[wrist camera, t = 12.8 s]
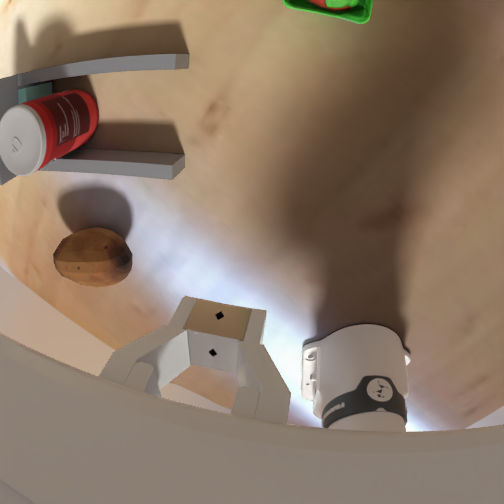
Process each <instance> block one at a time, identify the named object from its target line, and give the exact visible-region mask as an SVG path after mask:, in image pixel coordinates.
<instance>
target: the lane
mask: <svg viewBox="0 0 504 504" xmlns="http://www.w3.org/2000/svg"><path fill="white" fill-rule="evenodd" d="M188 67H189V54H154V55H137V56H125V57H114V58H105V59H97V60H89V61H82V62H76V63H70V64H64V65H59V66H53V67H48V68H44V69H39V70H35V71H30V72H26V73H22V74H18V75H14V76H10V77H6V78H2V79H0V121H1V118H2V117H3V115H4V114H5V113H6V112H7V110H9V109H10V108H12V107H14V106H16V105H19V101H18V90H19V89H23V88H26V87H30V86H34V85H38V82H42V81H47V80H53V79H59V78H66V77H73V76H81V75H89V74H98V73H108V72H121V71H137V70H172V69H186V68H188ZM184 168H185V155H183V154H171V153H157V152H141V151H122V150H92V149H75V150H73V151H71V152H69V153H67V154H65V155H64V156H62V157H60V158H58V159H57V160H55V161H53V162H51V163H50V164H48V165H46V166H45V167H43V168H41V169H39V170H42V171H65V172H83V173H99V174H112V175H125V176H137V177H148V178H159V179H169V180H173V179H174V178H175V177H176V176H177V175H178V174H179V173H180V172H181V171H182V170H183V169H184ZM16 176H17V175H16V174H14V173H12V172H11V171H10V170H9V169H8V168H7V167H6V166H5V164H4V162H3V161H2V158H1V156H0V185H3V184H4V183H6V182H8V181H9V180H11V179H12V178H14V177H16Z"/></svg>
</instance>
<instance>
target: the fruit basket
mask: <svg viewBox="0 0 504 504" xmlns="http://www.w3.org/2000/svg"><path fill="white" fill-rule="evenodd" d="M282 1H283V4H284V5H285V6H286V7H288V8H290V9H295V10H302V11H308V12H313V13H318V14H323V15H327V16H332V17H336V18H340V19H343V20H347V21H351V22H354V23H358V24H365V23H367V22H368V21H369V20H370V16H371V10H372V4H373V0H282Z"/></svg>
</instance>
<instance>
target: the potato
mask: <svg viewBox="0 0 504 504" xmlns="http://www.w3.org/2000/svg"><path fill="white" fill-rule="evenodd" d="M53 256H54V264H55V267H56V269H57V270H58V272H59V273H60V274H61V275H62V276H64V277H66V278H68V279H70V280H73V281H75V282H77V283H79V284H81V285H86V286H92V287H102V286H111V285H115V284H117V283H118V282H120V281H122V280H123V279H125V278H126V277H127V276H128V274H129V272H130V271H131V268H132V253H131V251H130V249H129V247H128V246H127V244H126V242H125V241H124V239H122V238H121V237H120V236H119V235H118V234H116V233H115V232H113V231H112V230H109V229H105V228H101V227H98V228H90V229H83V230H80V231H78V232H76V233H73V234H71V235H70V236H68V237H66V238H64V239H63V240H62V241H61V243H60V244H59V246H58V247H57V249H56V251H55V252H54V254H53Z"/></svg>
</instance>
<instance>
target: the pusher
mask: <svg viewBox="0 0 504 504" xmlns="http://www.w3.org/2000/svg"><path fill="white" fill-rule="evenodd" d="M51 94H52V82H47V83H42V84H38V85H34V86H30V87H26V88H23V89H19V90H18V101H19V104H22V103H24V102H27V101H31V100H34V99H37V98H41V97H44V96H48V95H51Z"/></svg>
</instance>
